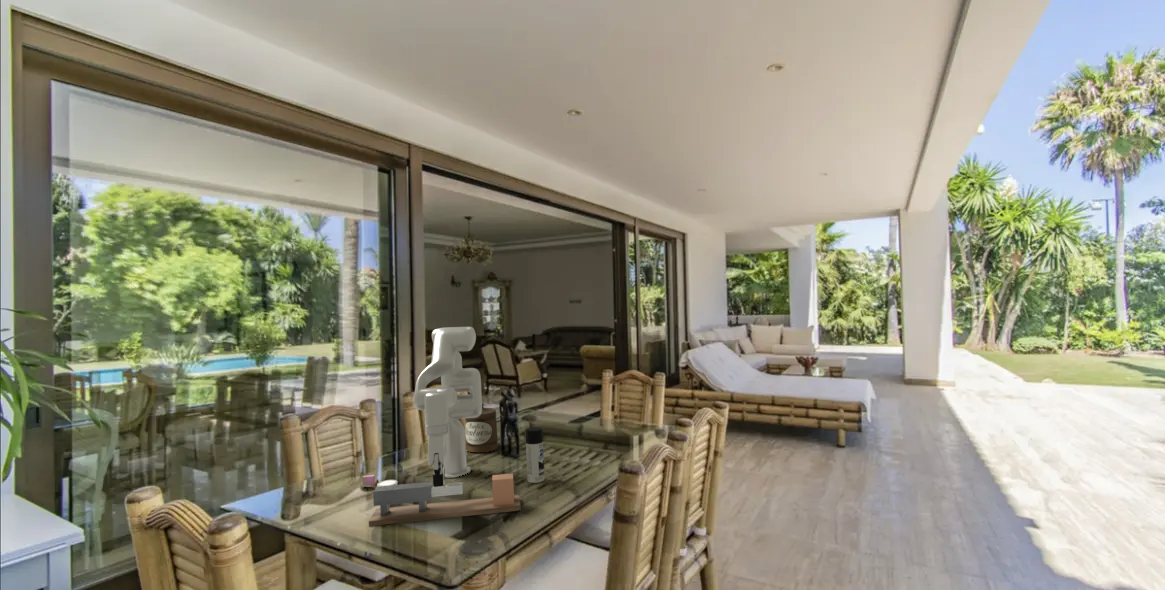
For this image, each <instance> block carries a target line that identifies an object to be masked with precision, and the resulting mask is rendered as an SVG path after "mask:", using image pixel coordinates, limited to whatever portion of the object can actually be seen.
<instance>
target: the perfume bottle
mask: <svg viewBox="0 0 1165 590" xmlns="http://www.w3.org/2000/svg"><path fill="white" fill-rule="evenodd" d="M361 481H362V486H363V485H373V487H372V489H373V490H374V489H375V488H376V487H377V484H378V483H379V482H380V481H379V479H376V474H365V475H364V474H363V475H362V479H361Z"/></svg>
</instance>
